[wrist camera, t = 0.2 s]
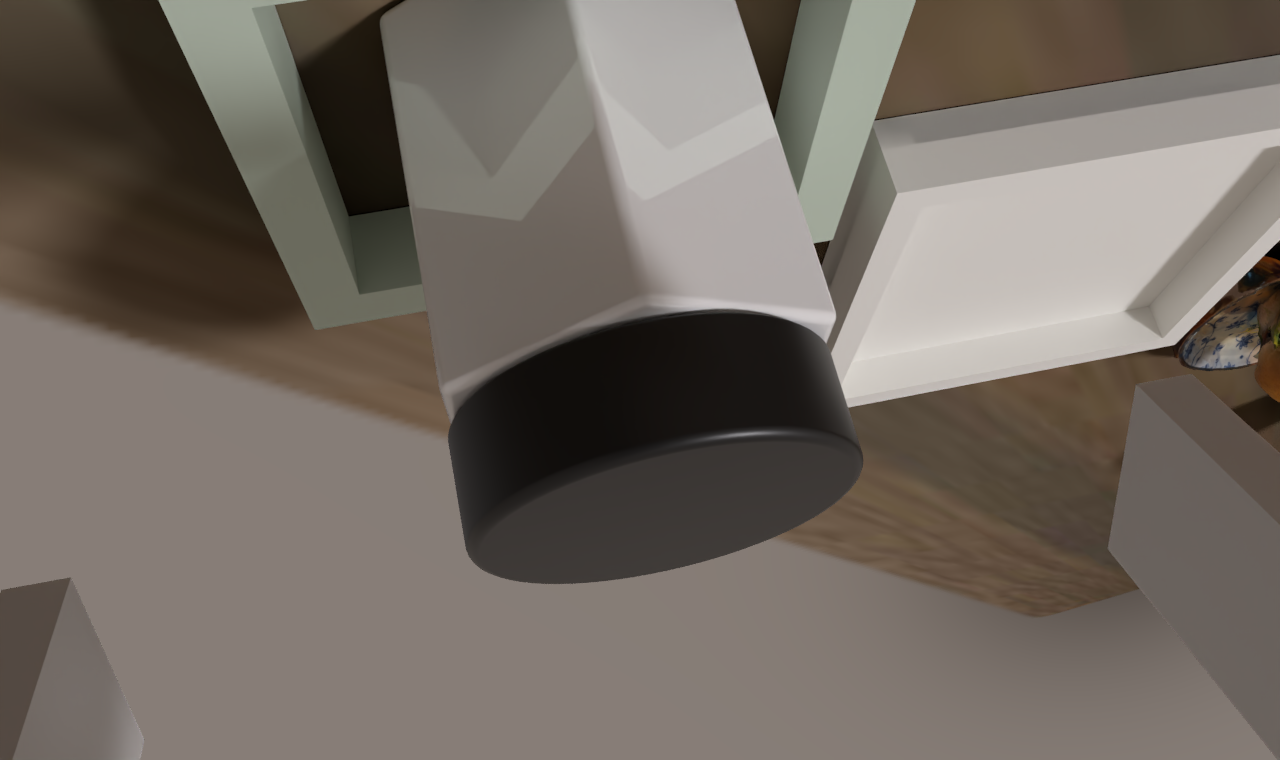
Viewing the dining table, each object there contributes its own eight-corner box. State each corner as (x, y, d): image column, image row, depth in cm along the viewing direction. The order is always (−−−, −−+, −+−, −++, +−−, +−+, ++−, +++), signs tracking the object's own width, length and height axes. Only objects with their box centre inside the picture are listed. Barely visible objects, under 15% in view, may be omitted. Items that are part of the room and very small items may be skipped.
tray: (871, 120, 34) (897, 193, 33) (1375, 39, 36) (1414, 105, 35) (789, 360, 49) (805, 415, 48) (1151, 293, 51) (1174, 344, 50)
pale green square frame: (132, -146, 21) (139, -41, 20) (926, -246, 23) (968, -154, 22) (305, 253, 34) (315, 329, 33) (809, 169, 36) (832, 239, 35)
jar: (501, 197, 34) (584, 608, 29) (296, 54, 27) (361, 563, 22) (787, 49, 30) (934, 484, 26) (637, -156, 24) (800, 386, 19)
